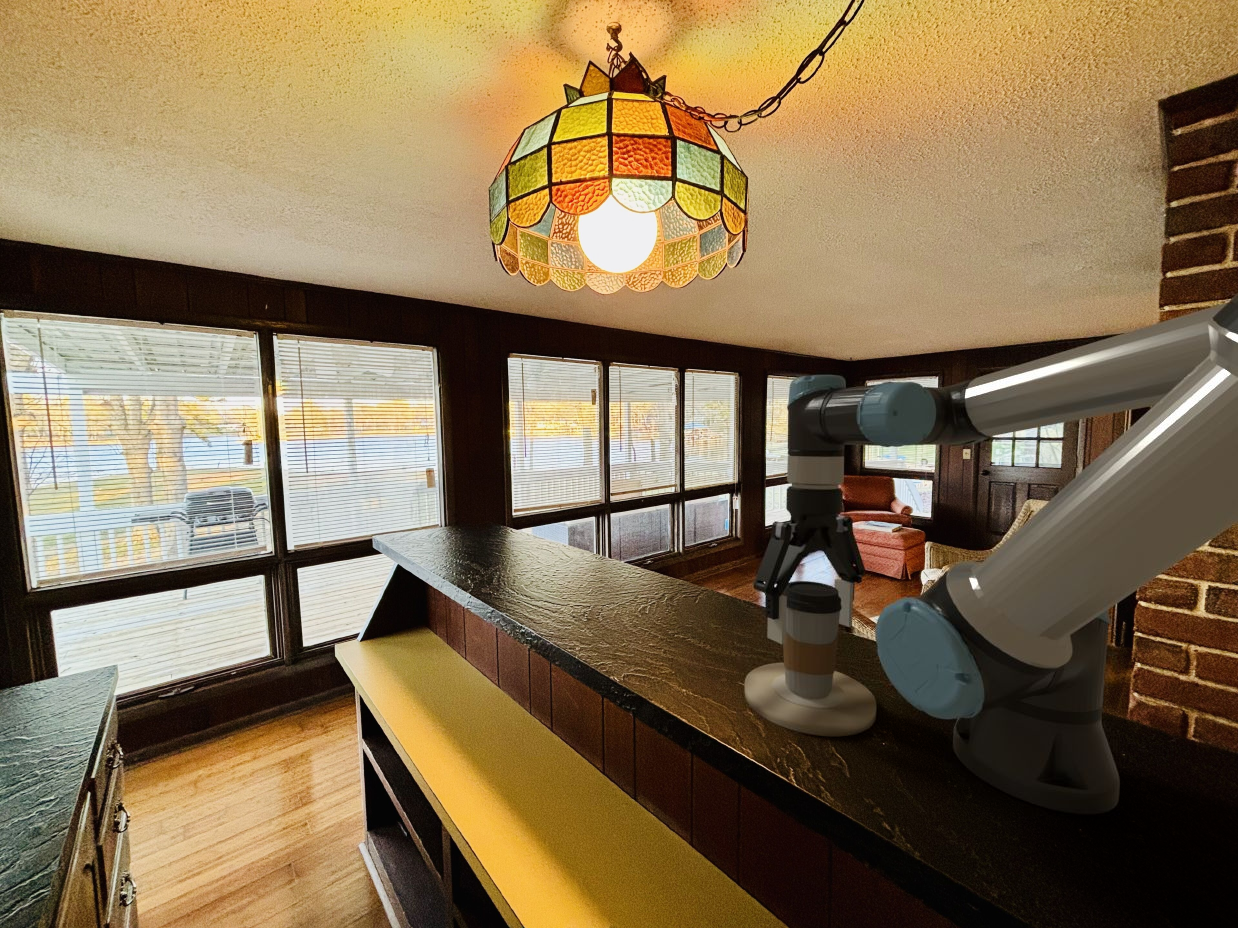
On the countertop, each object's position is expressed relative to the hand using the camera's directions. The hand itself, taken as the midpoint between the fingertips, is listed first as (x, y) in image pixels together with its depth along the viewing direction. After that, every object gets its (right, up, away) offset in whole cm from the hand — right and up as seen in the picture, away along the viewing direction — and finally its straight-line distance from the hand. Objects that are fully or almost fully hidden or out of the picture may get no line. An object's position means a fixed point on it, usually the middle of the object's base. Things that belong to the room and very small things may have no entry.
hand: (811, 631), depth 75 cm
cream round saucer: (0, -10, +1) cm, 10 cm away
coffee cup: (0, -9, +1) cm, 9 cm away
